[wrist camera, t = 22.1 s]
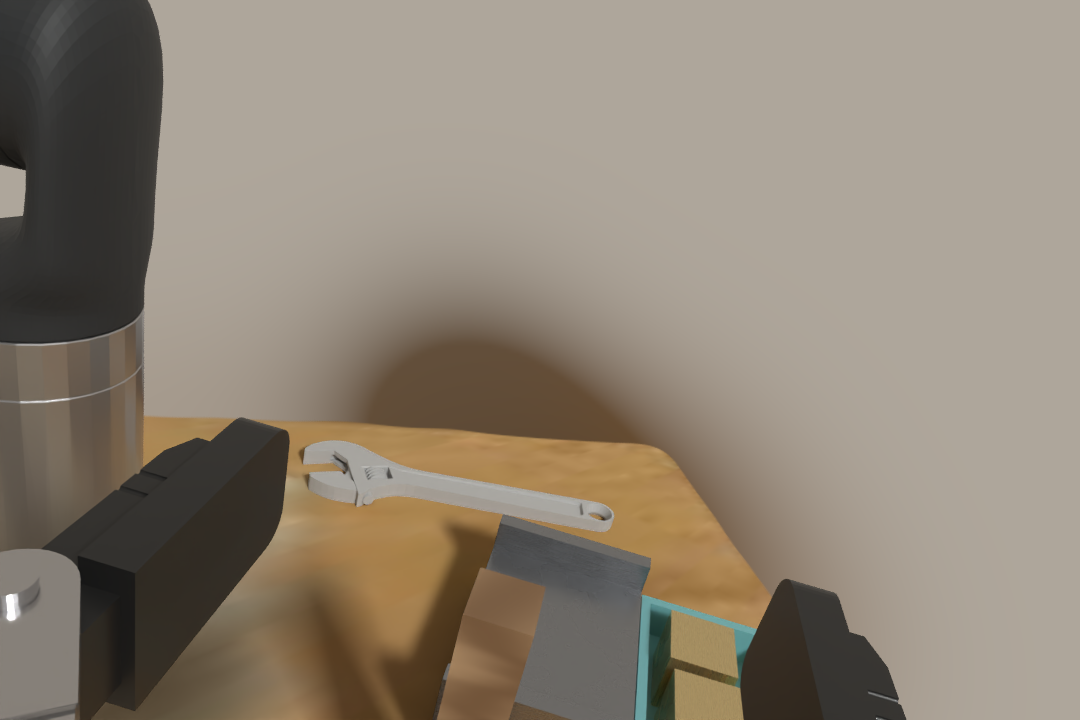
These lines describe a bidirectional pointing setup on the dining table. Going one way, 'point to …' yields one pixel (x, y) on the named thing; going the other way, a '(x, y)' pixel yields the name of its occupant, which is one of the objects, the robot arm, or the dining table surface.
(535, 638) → the rail channel
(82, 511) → the robot arm
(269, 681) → the dining table surface
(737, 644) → the tray
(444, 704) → the wooden post on base
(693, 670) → the brass block
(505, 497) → the adjustable wrench
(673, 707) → the brass block
